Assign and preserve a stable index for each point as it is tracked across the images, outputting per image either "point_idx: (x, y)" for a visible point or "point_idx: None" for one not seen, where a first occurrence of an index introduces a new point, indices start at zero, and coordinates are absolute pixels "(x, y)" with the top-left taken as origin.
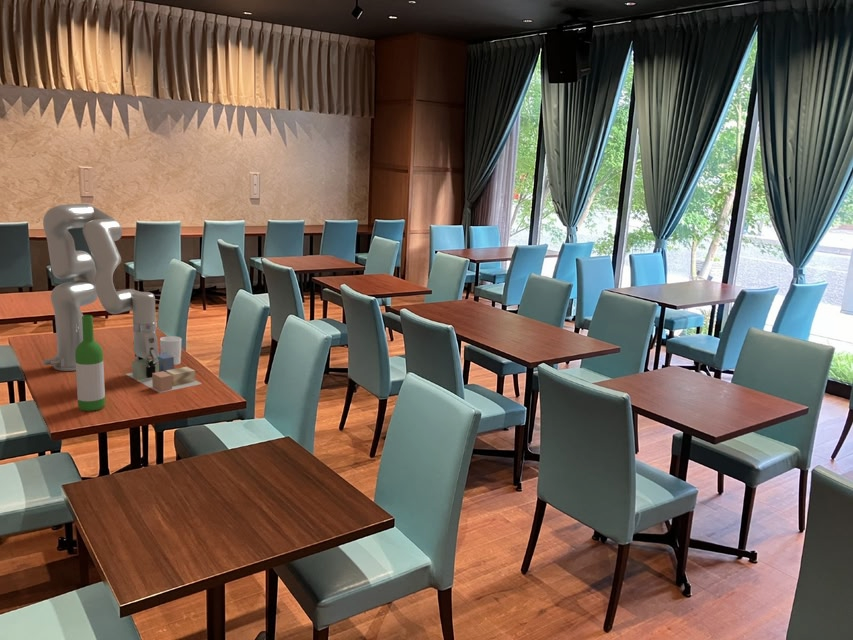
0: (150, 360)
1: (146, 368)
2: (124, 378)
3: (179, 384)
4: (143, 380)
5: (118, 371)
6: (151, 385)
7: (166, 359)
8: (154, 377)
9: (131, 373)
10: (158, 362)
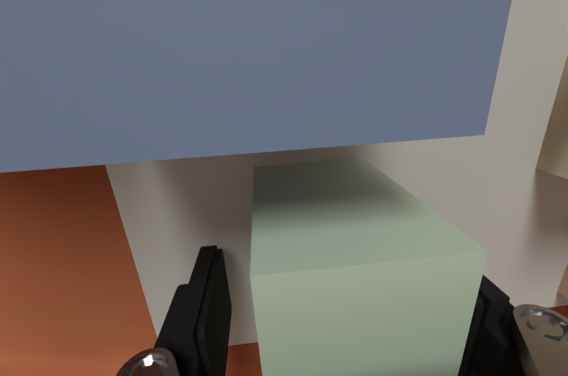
0: (401, 365)
1: (466, 371)
2: (255, 368)
3: None
4: None
5: (55, 365)
6: (527, 288)
7: (476, 43)
8: None
9: None
10: (453, 233)
